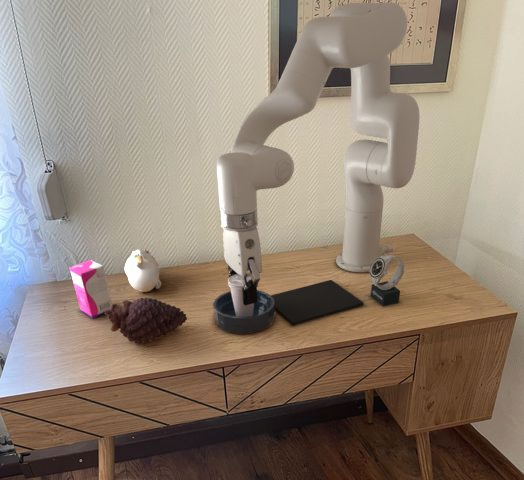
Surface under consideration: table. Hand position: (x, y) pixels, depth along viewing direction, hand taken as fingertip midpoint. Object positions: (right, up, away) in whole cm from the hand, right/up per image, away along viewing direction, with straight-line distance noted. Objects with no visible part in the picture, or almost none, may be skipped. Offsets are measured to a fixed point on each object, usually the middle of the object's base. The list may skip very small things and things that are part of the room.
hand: (243, 296), depth 116 cm
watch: (+33, 0, +9) cm, 34 cm away
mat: (+16, -1, +9) cm, 18 cm away
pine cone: (-20, -9, -2) cm, 22 cm away
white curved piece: (-26, +5, +20) cm, 33 cm away
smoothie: (0, -5, +3) cm, 6 cm away
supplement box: (-35, -3, +9) cm, 36 cm away
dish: (0, -5, +3) cm, 6 cm away
